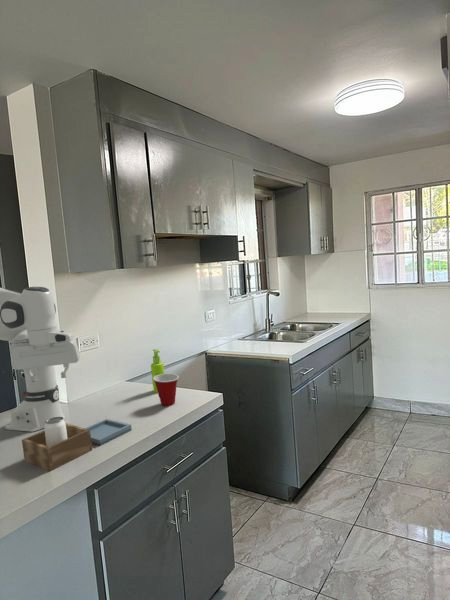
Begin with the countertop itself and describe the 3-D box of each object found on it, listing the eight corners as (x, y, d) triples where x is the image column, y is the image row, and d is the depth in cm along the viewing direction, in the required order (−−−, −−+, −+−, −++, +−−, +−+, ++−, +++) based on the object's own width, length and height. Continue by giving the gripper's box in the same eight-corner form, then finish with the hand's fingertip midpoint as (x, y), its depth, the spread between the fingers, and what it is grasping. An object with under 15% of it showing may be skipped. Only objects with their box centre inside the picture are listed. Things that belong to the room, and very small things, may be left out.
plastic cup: (175, 408, 168) (172, 380, 167) (151, 408, 171) (148, 380, 170) (185, 399, 178) (182, 372, 177) (162, 399, 181) (160, 372, 180)
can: (64, 459, 130) (59, 423, 129) (44, 460, 130) (39, 424, 129) (72, 450, 137) (68, 415, 136) (53, 451, 137) (48, 417, 136)
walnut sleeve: (24, 460, 132) (21, 439, 131) (65, 441, 144) (63, 422, 143) (50, 471, 123) (47, 448, 122) (92, 450, 135) (89, 429, 135)
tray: (75, 438, 146) (74, 432, 146) (107, 423, 158) (106, 418, 157) (100, 445, 138) (99, 440, 138) (131, 429, 149) (131, 424, 149)
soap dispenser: (155, 393, 190) (151, 351, 188) (152, 390, 196) (148, 349, 194) (168, 391, 192) (163, 349, 190) (164, 387, 198) (160, 347, 196)
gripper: (5, 342, 125) (11, 386, 126) (74, 335, 128) (79, 377, 130) (12, 339, 131) (17, 381, 133) (78, 332, 135) (83, 372, 136)
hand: (49, 379), depth 131 cm, fingers open, 8 cm apart
